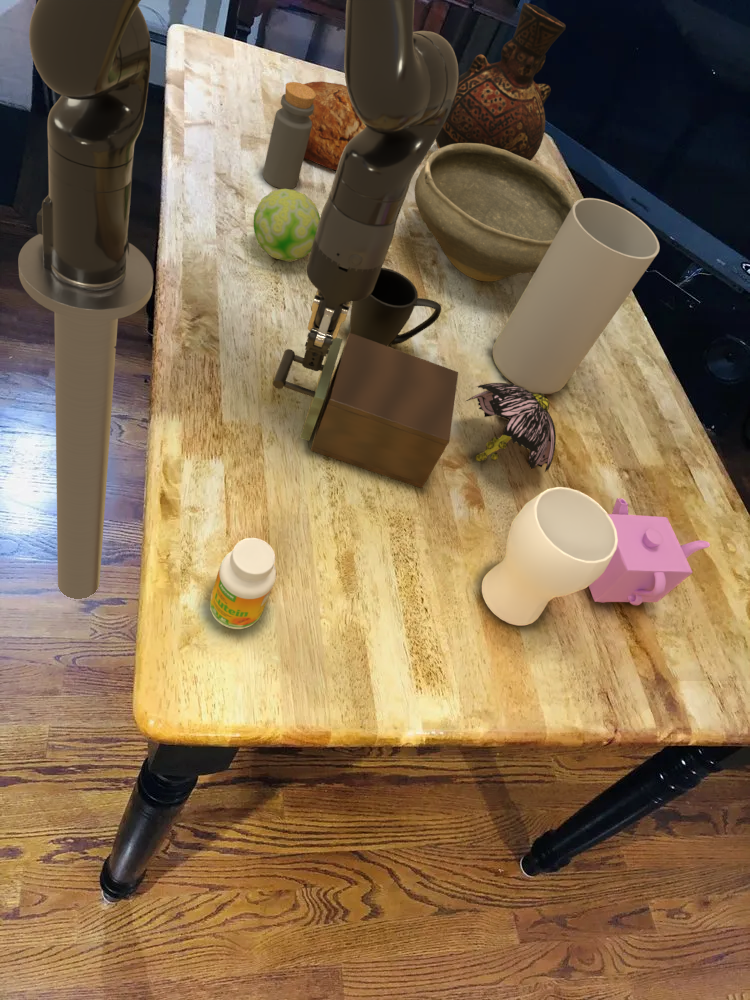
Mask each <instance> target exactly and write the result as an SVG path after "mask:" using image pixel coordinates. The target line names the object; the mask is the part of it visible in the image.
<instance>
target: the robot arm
mask: <svg viewBox="0 0 750 1000" xmlns="http://www.w3.org/2000/svg"><path fill="white" fill-rule="evenodd" d="M141 1H142V0H37V3H36V5H35V6H34V8H33V11H32V14H31V17H30V22H29V28H28V29H29V30H28V39H29V40H28V41H29V49H30V54H31V58H32V62H33V63H34V66H35V69H36V70H37V72H38V74H39V76H40V78H41V80H42V81H43V82H44V83H45V84H46V85H47V87H48V88H49V89H51V90H52V91H53V92H54V93H57V94H58V95H60V97H59V98H58V100H57V101H56V102H55V103H54V105H53V106H52V107H51V108H50V110H49V113H48V117H47V157H48V158H47V161H48V163H47V164H48V195H47V196H46V197H45V198H44V199H43V200H42V203H41V208H40V210H39V211H38V212H37V214H36V219H35V222H36V228H37V235H38V234H41V235H43V267H44V268H45V269H48V270H50V271H52V273H53V274H54V275H55V276H56V277H57V278H58V279H59V280H61V281H62V282H64V283H66V284H68V285H70V286H72V287H75V288H79V289H83V290H91V291H98V290H106V289H110V288H113V287H115V286H117V285H118V284H119V283H121V282H122V280H123V279H124V277H125V274H126V250H128V255H129V243H130V242H129V238H128V237H129V224H130V222H129V221H130V209H131V207H130V206H131V196H132V182H133V168H134V156H135V155H134V153H135V145H136V141H137V139H138V137H139V135H140V133H141V130H142V128H143V126H144V120H145V113H146V107H147V99H148V93H149V83H150V77H151V76H150V75H151V65H152V64H151V63H152V45H151V36H150V31H149V27H148V24H147V20H146V18H145V16H144V14H143V12H142V10H141V8H140V7H139V4H140V2H141ZM415 3H416V0H346V4H345V27H344V29H345V30H344V51H343V52H344V57H343V58H344V59H343V60H344V61H343V62H344V63H343V65H344V67H343V69H344V80H345V81H344V82H345V86H346V87H347V92H348V95H349V98H350V101H351V104H352V106H353V108H354V110H355V112H356V114H357V116H358V117H359V119H360V120H361V121H362V122H363V123H364V124H365V125H366V127H365V128H364V129H363V130H362V131H361V132H360V133H359V134H357V135H356V136H355V137H353V138H352V139H351V140H350V141H349V142H348V143H347V145H346V146H345V148H344V150H343V152H342V155H341V157H340V160H339V164H338V167H337V170H335V175H334V178H333V181H332V185H331V189H330V192H329V194H328V197H327V199H326V202H325V204H324V206H323V208H322V211H321V214H320V220H319V224H318V227H317V231H316V234H315V238H314V241H313V245H312V249H311V252H310V253H309V256H308V260H307V263H306V267H305V268H306V269H305V272H306V275H307V278H308V280H309V281H310V283H311V284H312V285H313V287H314V288H315V289H317V290H316V293H315V294H314V297H313V301H312V304H311V308H310V310H311V315H310V318H309V322H308V325H307V330H308V331H309V332H308V334H307V338H306V341H305V345H304V346H305V348H304V350H305V352H304V357H303V358H304V359H303V362H302V364H301V365H302V367H303V368H304V369H308V370H310V371H314V372H319V371H320V368H321V365H322V364H323V363H324V362H323V361H324V360H325V358H326V356H327V354H328V352H329V348H330V345H332V342H333V341H332V339H336V338H337V337H338V335H339V332H340V329H341V327H342V324H343V323H344V322H346V319H347V316H348V313H349V312H350V311H349V310H350V309H351V307H350V306H351V304H352V301H359V300H362V299H365V298H366V297H368V296H369V295H370V294H371V293H372V291H373V289H374V287H375V284H376V281H377V279H378V276H379V273H380V271H381V268H383V265H384V263H385V260H386V257H387V255H388V252H389V249H390V246H391V244H392V242H393V238H394V234H395V230H396V225H397V221H398V218H399V216H400V213H401V210H402V207H403V205H404V202H405V199H406V197H407V194H408V190H409V188H410V184H411V181H412V179H413V177H414V175H415V173H416V172H417V170H418V168H419V167H420V165H421V164H422V162H423V161H424V159H425V158H426V157H427V155H428V153H429V151H430V150H431V148H432V146H433V144H434V142H436V138H437V136H438V134H439V132H440V131H441V129H442V127H443V125H444V123H445V122H446V120H447V118H448V115H449V113H450V111H451V109H452V106H453V103H454V100H455V97H456V93H457V87H458V79H459V77H460V72H459V63H458V59H457V55H456V53H455V50H454V48H453V47H452V45H451V43H450V42H449V41H448V40H447V39H446V38H445V37H443V36H442V35H440V34H439V33H437V32H433V31H430V30H429V31H427V30H417V31H414V20H415V19H414V18H415ZM128 242H129V243H128Z"/></svg>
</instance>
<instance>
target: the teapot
mask: <svg viewBox="0 0 750 1000" xmlns="http://www.w3.org/2000/svg"><path fill="white" fill-rule="evenodd" d="M608 515H609V516H610V518H611V519H612V521H613V523H614V526H615V528H616V531H617V538H618V542H617V549H616V551H615V553H614V555H613V557H612V559H611V560H610V562H609V564H608V566H607V568H606V569H605V571H604V573H603V574H602V575H601V576H600V577H598V578H597V579H596V580H595V581H594V582H593V583H592V584H591V585H589V586H588V588H589V590H590V593H591V596H592V599H593V602H594V603H595V602H598V603H629V604H630V605H632V606H640V605H642V603H658V602H660V601H661V600H662V599H663V598H665V596H667V595H668V594H669V593H670V592H671V591H673V590H674V589H675V588H676V587H677V586H679V585H680V584H681V583H682V582H683V581H684V580H686V579H687V578H688V577H689V576H690V575H693V569H692V568H691V566H690V563H689V561H688V558H689V557H690V556H692V554H694V553H696V552H698V551H700V550H703V549H707V548H710V546H711V543H710V542H709V541H706V540H699V539H698V540H693V541H690V542H687V543H684V544H680V542H679V540H678V537H677V535H676V534H675V531H674V529H673V527H672V525H671V523H670V521H669V518H668V516H657V515H655V516H654V515H638V514H629V503H628V502H627V501H626V499H624V498H623V497H622V498H619V497H617V498H616V500H615V503H614V506H613V509H612V512H611V513H608Z"/></svg>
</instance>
